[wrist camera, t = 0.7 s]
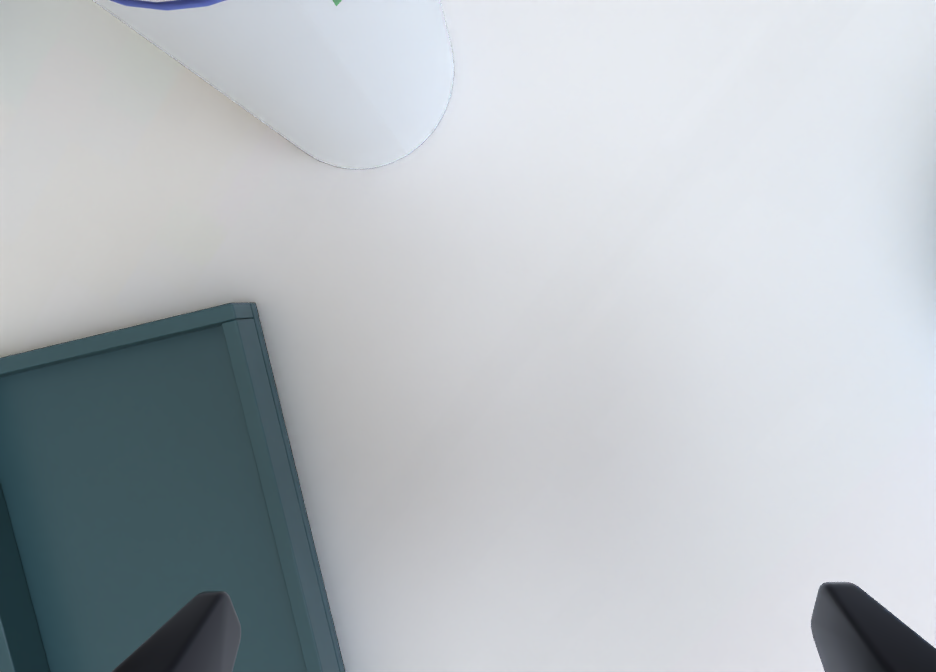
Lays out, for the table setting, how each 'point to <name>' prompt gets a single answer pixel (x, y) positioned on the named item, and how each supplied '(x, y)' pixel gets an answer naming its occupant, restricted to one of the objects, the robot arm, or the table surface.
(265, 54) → the cylindrical container
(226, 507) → the tray
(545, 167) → the table surface
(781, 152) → the table surface
